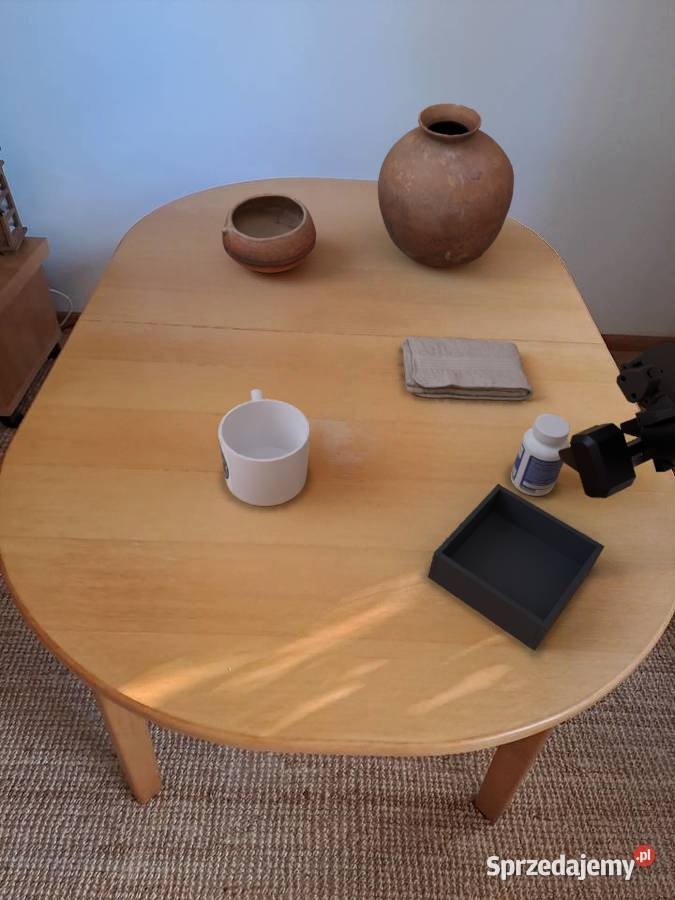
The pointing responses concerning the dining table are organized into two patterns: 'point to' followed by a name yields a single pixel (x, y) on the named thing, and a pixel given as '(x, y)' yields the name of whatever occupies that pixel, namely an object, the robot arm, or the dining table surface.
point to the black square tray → (515, 564)
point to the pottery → (445, 188)
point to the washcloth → (464, 369)
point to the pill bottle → (540, 455)
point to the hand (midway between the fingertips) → (591, 441)
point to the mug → (264, 450)
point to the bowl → (269, 232)
